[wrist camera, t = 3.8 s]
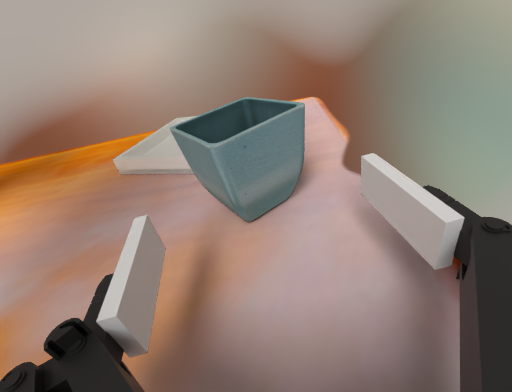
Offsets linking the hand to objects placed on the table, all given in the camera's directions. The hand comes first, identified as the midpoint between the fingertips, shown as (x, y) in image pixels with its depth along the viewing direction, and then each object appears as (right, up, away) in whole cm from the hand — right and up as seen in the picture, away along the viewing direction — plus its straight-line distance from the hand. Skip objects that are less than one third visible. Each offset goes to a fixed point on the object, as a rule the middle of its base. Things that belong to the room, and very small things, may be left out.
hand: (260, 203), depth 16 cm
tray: (-10, +8, +28) cm, 31 cm away
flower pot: (0, 0, +11) cm, 11 cm away
